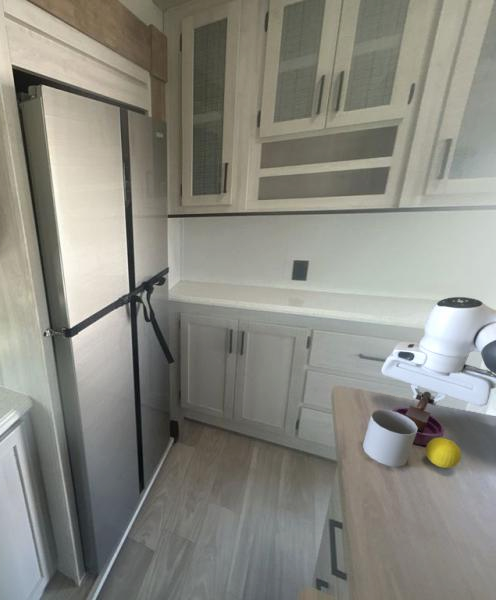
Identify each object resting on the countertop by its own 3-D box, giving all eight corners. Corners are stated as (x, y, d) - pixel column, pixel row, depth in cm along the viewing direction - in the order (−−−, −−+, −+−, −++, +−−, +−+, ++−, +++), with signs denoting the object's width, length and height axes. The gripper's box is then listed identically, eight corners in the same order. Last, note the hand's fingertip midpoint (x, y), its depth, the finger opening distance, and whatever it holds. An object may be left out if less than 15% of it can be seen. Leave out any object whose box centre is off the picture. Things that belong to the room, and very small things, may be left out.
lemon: (450, 461, 78) (461, 435, 75) (457, 479, 74) (469, 453, 71) (419, 452, 81) (428, 427, 78) (424, 469, 77) (434, 444, 74)
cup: (388, 471, 78) (399, 438, 74) (354, 445, 85) (362, 414, 81) (415, 460, 79) (427, 428, 76) (380, 436, 87) (388, 406, 83)
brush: (413, 403, 94) (418, 387, 92) (432, 410, 91) (438, 394, 89) (400, 427, 87) (406, 411, 84) (421, 436, 84) (427, 419, 82)
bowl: (444, 432, 86) (448, 420, 85) (435, 454, 80) (440, 442, 79) (393, 412, 94) (396, 402, 92) (382, 431, 88) (386, 420, 87)
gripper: (503, 368, 78) (482, 414, 83) (392, 340, 93) (381, 380, 99) (501, 380, 75) (479, 427, 80) (386, 348, 90) (374, 389, 95)
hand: (424, 400), depth 89 cm, fingers closed on brush
